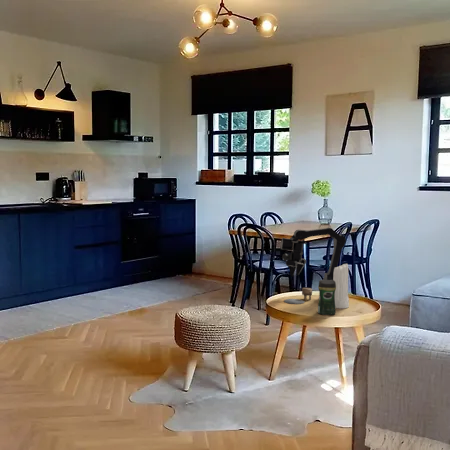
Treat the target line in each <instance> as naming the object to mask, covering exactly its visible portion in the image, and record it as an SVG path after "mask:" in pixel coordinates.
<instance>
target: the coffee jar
mask: <svg viewBox="0 0 450 450" xmlns="http://www.w3.org/2000/svg"><path fill="white" fill-rule="evenodd" d="M317 289H318V291H319V294H318V302H317V303H318V304H317V305H318V306H317V313H318V315H324V316H332V315H335V314H336V309H337V308H335V290H336V283H335V281H334V280H324V279H319V280H318V287H317Z"/></svg>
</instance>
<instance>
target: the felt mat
mask: <svg viewBox="0 0 450 450" xmlns="http://www.w3.org/2000/svg"><path fill="white" fill-rule="evenodd" d="M283 302H284V303H285V304H289V305H301V304H305V300H304V299H298V298H288V299H284V300H283Z"/></svg>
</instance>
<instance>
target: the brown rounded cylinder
mask: <svg viewBox="0 0 450 450" xmlns="http://www.w3.org/2000/svg"><path fill="white" fill-rule="evenodd" d="M301 289H302V290H301V295H302V296H303V301H306V300H307V299H308V300H309V301H311V300H312V295H313V288H311V287H302V288H301ZM307 297H308V298H307Z"/></svg>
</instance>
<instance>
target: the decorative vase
mask: <svg viewBox="0 0 450 450" xmlns="http://www.w3.org/2000/svg"><path fill="white" fill-rule="evenodd" d="M333 280H334V281H335V283H336V290H335V309H348V308H349V306H350V304H349V302H350V299H349V294H348V293H349V265H348V263H343V264H342V265H339V266H337V267H335V268H334V274H333Z"/></svg>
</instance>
